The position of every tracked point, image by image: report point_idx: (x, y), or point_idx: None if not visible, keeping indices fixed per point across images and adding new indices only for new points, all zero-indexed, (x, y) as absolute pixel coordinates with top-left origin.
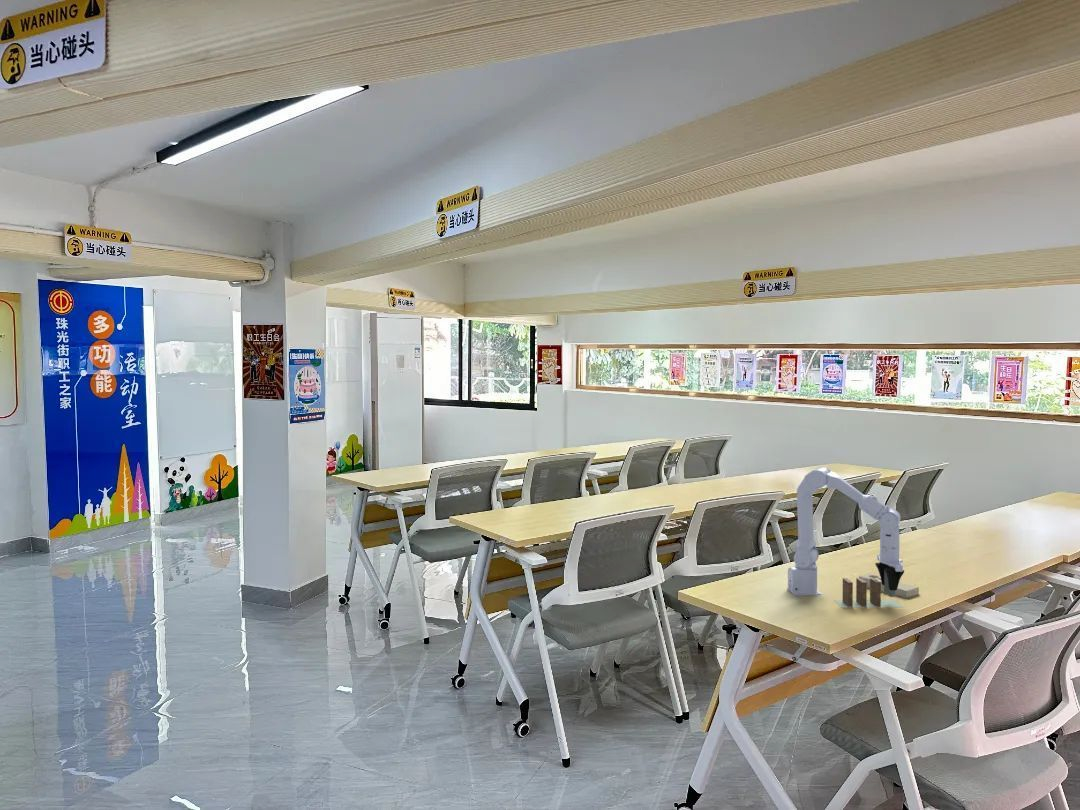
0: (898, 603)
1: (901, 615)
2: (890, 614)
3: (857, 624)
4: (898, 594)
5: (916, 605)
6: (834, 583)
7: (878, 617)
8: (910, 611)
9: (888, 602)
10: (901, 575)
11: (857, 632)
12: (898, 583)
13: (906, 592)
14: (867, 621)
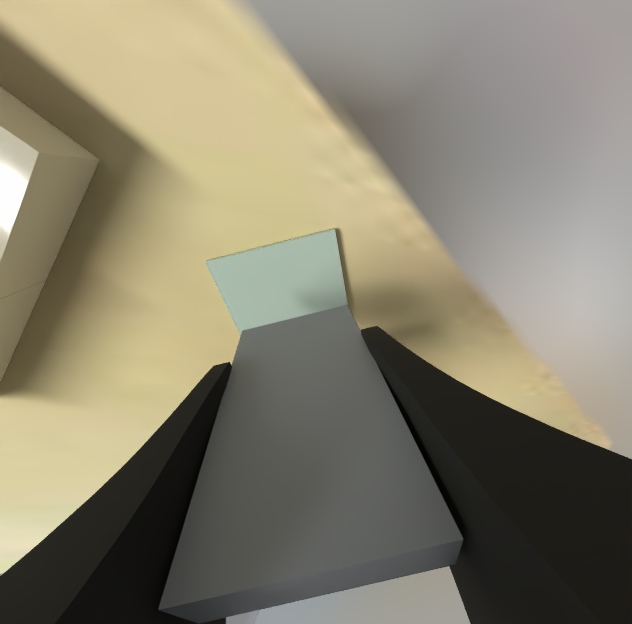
0: (270, 250)
1: (456, 266)
2: (438, 311)
3: (520, 407)
4: (61, 217)
5: (253, 118)
6: (38, 465)
7: (469, 354)
8: (393, 202)
9: (266, 300)
10: (588, 449)
11: (578, 407)
12: (417, 356)
13: (53, 157)
14: (502, 385)
